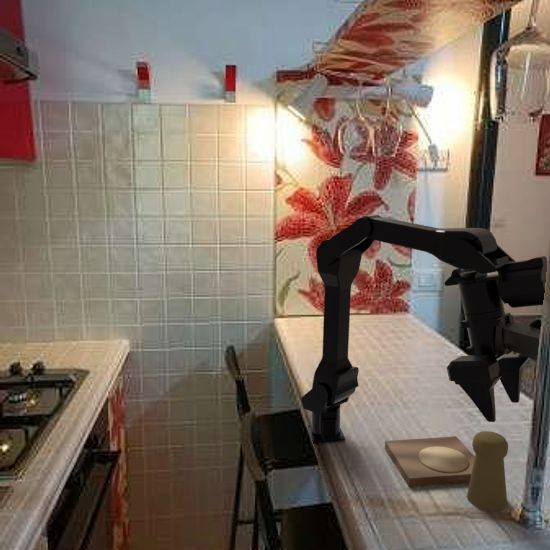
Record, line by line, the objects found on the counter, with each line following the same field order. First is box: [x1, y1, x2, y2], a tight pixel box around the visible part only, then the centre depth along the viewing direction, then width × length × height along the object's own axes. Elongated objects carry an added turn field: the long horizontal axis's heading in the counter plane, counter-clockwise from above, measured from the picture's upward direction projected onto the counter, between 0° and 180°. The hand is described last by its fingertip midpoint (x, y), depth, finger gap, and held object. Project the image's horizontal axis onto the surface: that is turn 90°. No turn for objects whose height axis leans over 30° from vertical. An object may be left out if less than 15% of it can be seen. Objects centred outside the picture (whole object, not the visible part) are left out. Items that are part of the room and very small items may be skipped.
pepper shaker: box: [466, 430, 509, 512], centre depth 85 cm, size 6×6×11 cm
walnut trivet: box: [384, 436, 475, 488], centre depth 97 cm, size 13×14×2 cm
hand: (504, 411), depth 82 cm, fingers open, 9 cm apart
